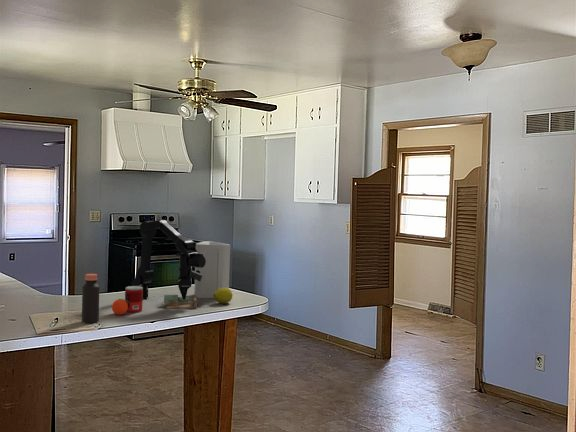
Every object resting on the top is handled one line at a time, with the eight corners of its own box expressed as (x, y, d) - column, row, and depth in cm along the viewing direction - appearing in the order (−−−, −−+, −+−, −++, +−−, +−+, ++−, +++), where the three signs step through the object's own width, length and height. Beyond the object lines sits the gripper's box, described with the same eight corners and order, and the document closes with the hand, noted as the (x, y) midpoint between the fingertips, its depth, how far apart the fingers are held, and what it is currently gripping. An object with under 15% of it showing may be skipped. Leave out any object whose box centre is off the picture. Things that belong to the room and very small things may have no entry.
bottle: (164, 296, 285) (188, 296, 287) (164, 293, 290) (188, 293, 291) (163, 305, 286) (188, 305, 288) (164, 302, 290) (188, 302, 292)
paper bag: (185, 294, 320) (187, 242, 318) (208, 291, 330) (209, 241, 328) (206, 300, 306) (207, 245, 304) (229, 297, 316) (231, 244, 314)
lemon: (229, 301, 305) (229, 285, 305) (235, 304, 299) (236, 288, 298) (209, 302, 300) (210, 287, 299) (216, 305, 293) (216, 289, 293)
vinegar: (96, 323, 248) (97, 276, 247) (79, 323, 247) (80, 275, 246) (100, 320, 254) (101, 273, 253) (84, 319, 254) (85, 273, 253)
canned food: (145, 310, 277) (146, 286, 276) (135, 313, 269) (136, 289, 269) (131, 308, 279) (132, 285, 279) (121, 311, 272) (121, 287, 271)
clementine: (123, 311, 272) (124, 296, 271) (132, 314, 267) (133, 298, 267) (108, 314, 266) (108, 298, 265) (117, 317, 261) (118, 301, 261)
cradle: (166, 308, 282) (166, 300, 282) (166, 303, 295) (167, 295, 295) (196, 308, 285) (196, 300, 284) (195, 303, 297) (196, 295, 297)
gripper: (202, 268, 281) (201, 301, 282) (201, 263, 300) (200, 294, 300) (178, 268, 279) (177, 301, 280) (178, 262, 298) (177, 294, 298)
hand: (184, 297), depth 290 cm, fingers open, 9 cm apart
